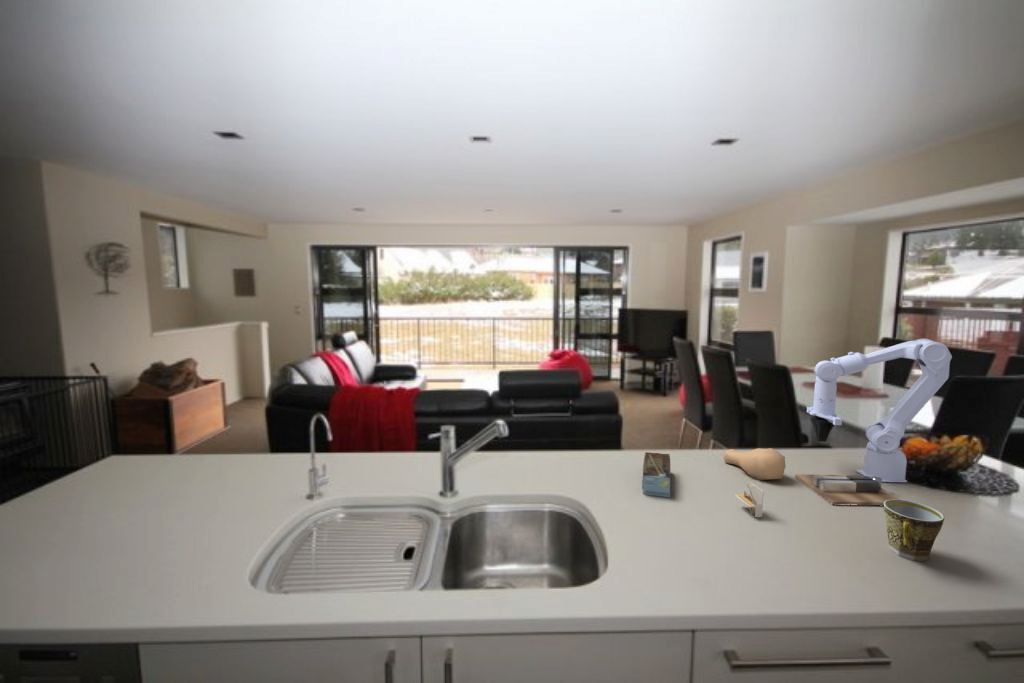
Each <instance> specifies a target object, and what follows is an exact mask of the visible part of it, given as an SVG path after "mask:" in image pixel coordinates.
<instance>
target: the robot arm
mask: <svg viewBox="0 0 1024 683" xmlns="http://www.w3.org/2000/svg"><path fill="white" fill-rule="evenodd" d="M900 358H903V359H910V360H915V361H916V362H917V363H918V365H919V368H920V370H921V372H922V374H920V376H919V377H918V379H917V380H916V381H915V382H914V383H913V384H912V385H911V387H910V388H909V389H908V390H907V392H906V393H905V394H904V395H903V396H902V397H901V398H900V399H899V401H898V402H897V403H896V404H895V405H894V406H893V408H892V409H891V410H890V411H889V412H888V413H887V414H886V416H883V417H881V418H880V419H878V421H877V422H875V423H873V424H871V425H869V426H868V427H867V429H866V430H865V437H866V438H867V439H868V443H867V444H866V446H865V455H864V456H865V458H864V459H865V460H864V468H863V469H857V470H856V472H857V473H859V475H861V476H869V477H879V478H881V479H882V483H907V482H908V480H906V475H907V474H906V473H907V460H908V459H907V457H906V456H907V455H906V454H905V453H904V451H902V450H900V449H899V447H900V445H901V439H902V438H903V437H904V436H905V432H906V431H905V430H906V427H907V426H908V425H909V424H910V423H911V421H912V420H913V419H915V417H916V416H917V414H918V413H919V412H921V410H922V409H923V408H924V407H925V406H926V404H927V403H928V402H929V401H930V400H931V399H932V398H933V396H934V395H935V394H936V393H937V392H938V391H939V389H941V388H942V386H943V385H944V384H945V383H946V381H948V380H949V377H950V364H951V363H950V362H951V360H952V358H953V356H952V354H951V352H950V350H949V348H948V347H947V345H946V344H944V343H942V342H939V341H934V340H932V339H929V338H919V339H915V340H909V341H904V342H901V343H898V344H895V345H892V346H887V347H885V348H881V349H878V350H875V351H872V352H869V353H866V354H863V353H861V352H854V351H849V352H847V355H844V356H843V355H842V356H840V357H837V358H835V357H831V358H830V360H821V361H819V362H818V363H816V365H815V367H814V368H813V371H814V373H815V380H814V381H815V383H814V391H813V393H814V394H813V405H812V406H806V413H807V414H809V415H810V416H811V417H810V421H811V424H812V425H813V428H814V432H815V436H816V440H817V441H818V442H827V440H828V437H829V436H830V435H829V434H830V433H831V431H832V429H833V428H834V427H835V426H842V425H843V424H842V423H843V419H842V418H841V417H840V416H838V414H836V403H837V402H836V401H837V400H836V399H837V388H838V386H837V382H838V381H837V380H838V379H839V378H840V377H845V376H848V375H852V374H855V373H860V372H864V371H867V369H868V368H869V366H870V365H873V364H874V365H875V364H879V363H883V362H887V361H888V362H889V361H892V360H896V359H900ZM813 416H814V417H813Z"/></svg>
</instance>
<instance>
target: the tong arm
mask: <svg viewBox="0 0 1024 683" xmlns="http://www.w3.org/2000/svg"><path fill="white" fill-rule="evenodd" d="M820 480H841V481H852V480H875V481H877V482H879V489H881V488H882V485H883V482H882V479H881V478H879V477H869V476H864V475H860V476H846V477H836V476H814V478H813V484H814V485H815V486H820Z"/></svg>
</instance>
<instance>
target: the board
mask: <svg viewBox="0 0 1024 683" xmlns="http://www.w3.org/2000/svg"><path fill="white" fill-rule="evenodd" d="M814 476H836V477H846V476H861V474H805V473H804V474H803V473H802V474H799V473H798V474H797V473H796V474H794V478H795V479H796V478H797V479H796V480H798V481H801V482H800V483H801V484H803V485H804V484H805V486H806V487H807V486H808V487H809V489H810V488H811V489H812V490H811V489H810V490H811V491H813V490H814V491H815V492H816V494H817V493H818V494H819V495H821V496H822V497H823V498H825V499H826V500H828V501H829V502H830V503H832V504H850V505H851V504H857V505H880V506H879V507H884V506H883V505H884V502H885V501H887V500H894V499H895V500H902V498H900V497H898V496H896V495H894V494H892V493H891V492H890V491H887V490H885V488H882V487H881V489H879V493H856V492H822V491H821V490H820V489H819V487H820V486H815V485H814V484H813V478H814ZM808 487H807V488H808ZM814 491H813V492H814ZM815 492H814V493H815ZM818 494H817V495H818ZM819 495H818V496H819ZM821 496H820V497H821ZM822 497H821V498H822ZM823 498H822V499H823ZM825 499H824V500H825ZM826 500H825V501H826ZM828 501H827V502H828ZM829 502H828V503H829ZM830 503H829V504H830ZM832 504H831V505H832ZM881 505H882V506H881Z"/></svg>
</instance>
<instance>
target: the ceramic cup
mask: <svg viewBox="0 0 1024 683" xmlns="http://www.w3.org/2000/svg"><path fill="white" fill-rule="evenodd" d="M883 511H884V512H883V513H884V520H885V524H886V532H887V538H888V539H887V540H888V547H889V550H890V551H892V550H893V551H894V552H895V553H894V552H893V551H892V552H893V553H894V554H896V555H897V554H898V555H899V557H901V558H904V559H907V560H909V561H913V562H927V561H928V560H929V557H930V555H931V553H932V552H931V551H932V548H933V546H934V543H935V541H936V538H937V537H938V535H939V534H940V532H941V530H942V527H943V524H944V522H945V516H944V514H943V513H941V511H939V510H937V509H935V508H933V507H931V506H928V505H925V504H922V503H919V502H915V501H910V500H905V499H901V500H895V499H894V500H887V501H885V502H884V506H883ZM898 555H897V556H898Z"/></svg>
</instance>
